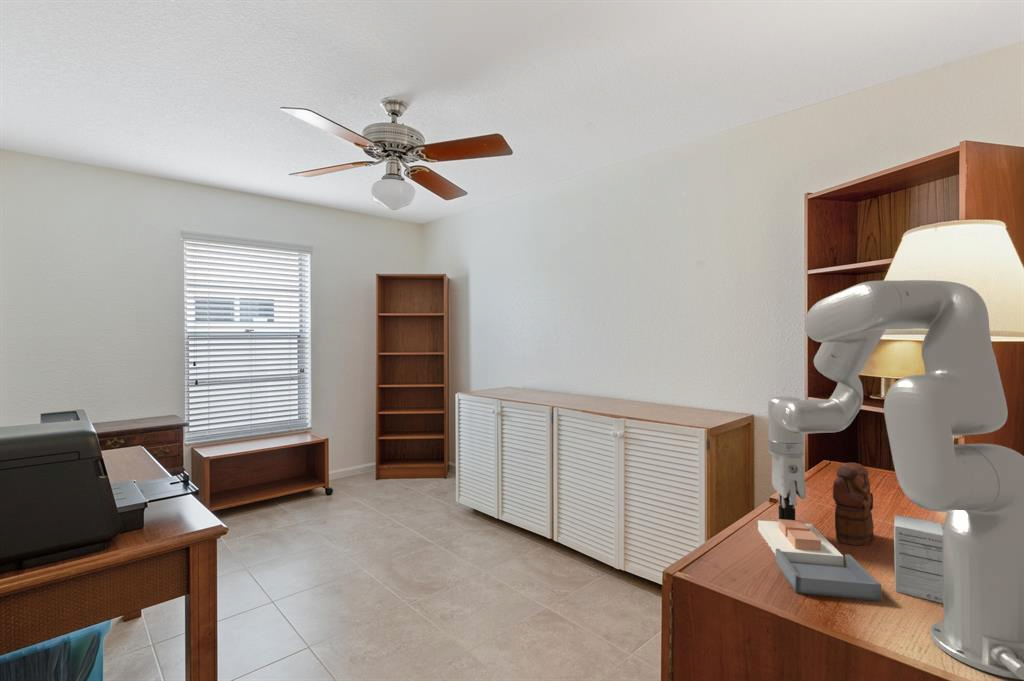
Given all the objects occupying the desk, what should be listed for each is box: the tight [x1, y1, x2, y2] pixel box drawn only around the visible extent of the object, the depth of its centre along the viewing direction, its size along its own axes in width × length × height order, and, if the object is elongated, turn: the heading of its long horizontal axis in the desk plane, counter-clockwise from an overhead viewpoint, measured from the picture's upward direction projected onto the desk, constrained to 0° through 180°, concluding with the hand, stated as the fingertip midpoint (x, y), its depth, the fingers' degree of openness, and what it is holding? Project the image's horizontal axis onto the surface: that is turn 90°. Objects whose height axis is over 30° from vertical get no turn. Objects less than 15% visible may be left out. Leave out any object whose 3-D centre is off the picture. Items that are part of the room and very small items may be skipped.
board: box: [757, 520, 845, 566], centre depth 111 cm, size 18×12×2 cm, turn 167°
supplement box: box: [893, 514, 944, 604], centre depth 92 cm, size 7×7×13 cm
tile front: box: [788, 530, 821, 551], centre depth 107 cm, size 5×5×2 cm
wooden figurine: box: [832, 462, 875, 546], centre depth 115 cm, size 12×6×18 cm, turn 129°
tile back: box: [778, 518, 810, 537], centre depth 113 cm, size 5×5×2 cm
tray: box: [775, 549, 882, 602], centre depth 96 cm, size 13×14×3 cm
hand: (787, 522), depth 118 cm, fingers closed
